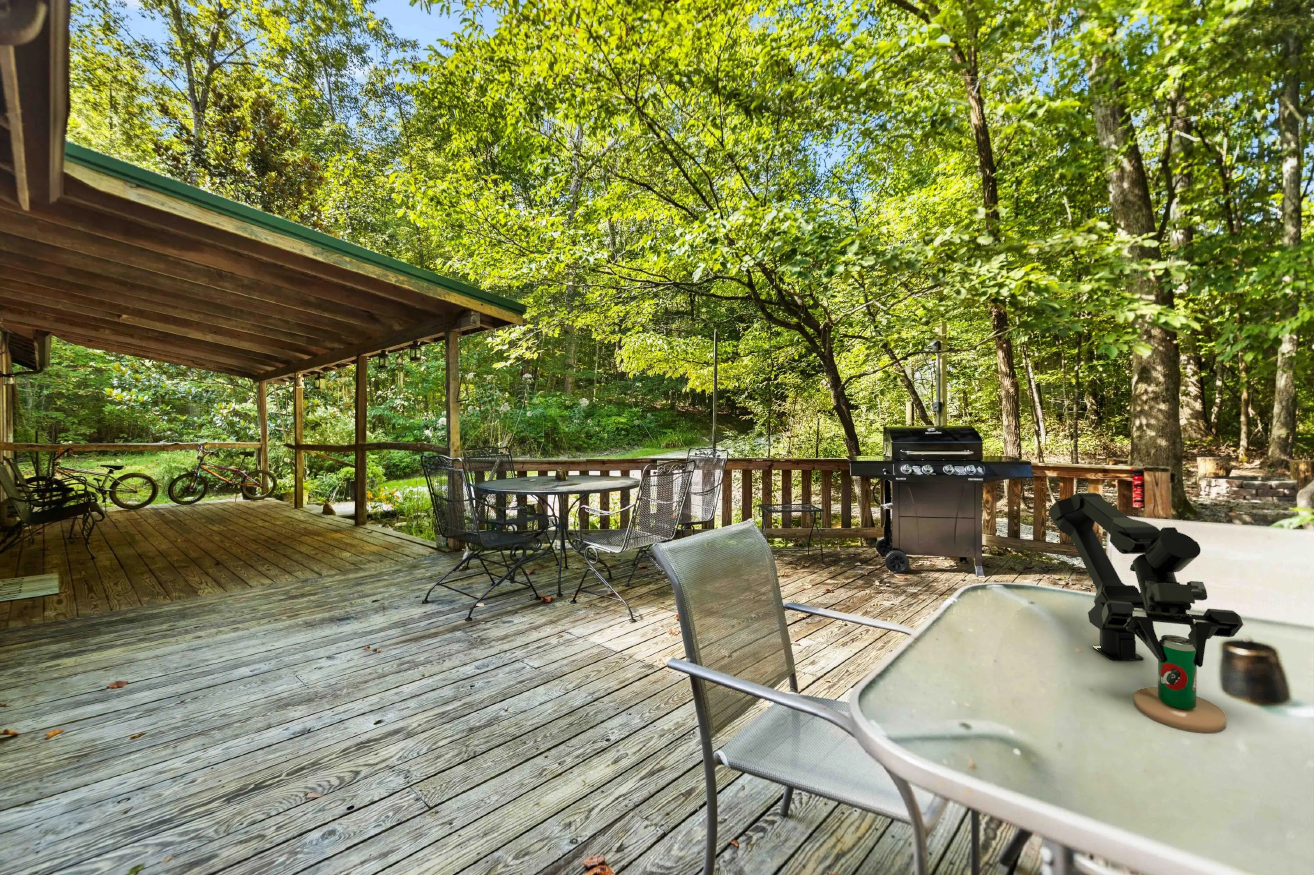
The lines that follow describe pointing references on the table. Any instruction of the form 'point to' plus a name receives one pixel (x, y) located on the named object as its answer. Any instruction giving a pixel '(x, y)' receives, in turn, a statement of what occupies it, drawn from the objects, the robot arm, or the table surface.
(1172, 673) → the soda can
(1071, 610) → the table surface
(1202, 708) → the terracotta plate
